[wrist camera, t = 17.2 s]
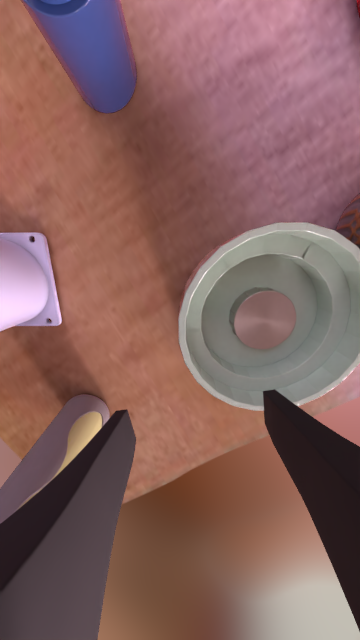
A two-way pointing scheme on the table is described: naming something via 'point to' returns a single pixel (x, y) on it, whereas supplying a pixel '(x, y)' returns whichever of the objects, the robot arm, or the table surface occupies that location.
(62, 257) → the table surface
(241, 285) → the bowl
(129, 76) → the jar
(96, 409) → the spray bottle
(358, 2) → the soda can
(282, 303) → the lid
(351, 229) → the vase
